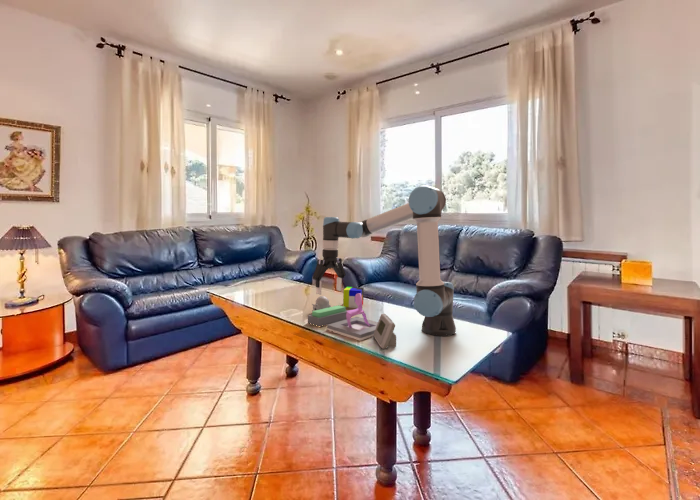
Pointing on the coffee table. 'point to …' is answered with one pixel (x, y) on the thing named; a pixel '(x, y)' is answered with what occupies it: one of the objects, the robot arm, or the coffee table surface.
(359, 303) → the toy chair
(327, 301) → the chubby cartoon animal
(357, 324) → the grey flat square frame
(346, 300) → the puzzle toy
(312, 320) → the button housing
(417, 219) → the robot arm
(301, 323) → the coffee table surface
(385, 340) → the digital clock
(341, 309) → the bar
